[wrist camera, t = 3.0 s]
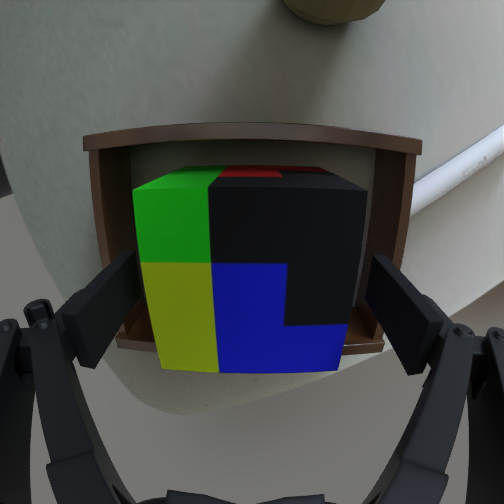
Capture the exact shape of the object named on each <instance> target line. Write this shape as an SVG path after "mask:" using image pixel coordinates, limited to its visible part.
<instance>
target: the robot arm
mask: <svg viewBox="0 0 504 504" xmlns="http://www.w3.org/2000/svg"><path fill="white" fill-rule="evenodd" d="M141 295H142V291H141V285H140V279H139V272H138V266H137V259H136V252H135V251H122V252H121V253H120V254H119V255H118V256H117V257H116V258H115V259H114V260H113V261H112V262H111V263H110V264H109V265H108V266H107V267H106V268H104V269H103V270H102V271H101V272H100V273H99V274H98V275H97V276H96V277H95V278H94V279H93V280H92V281H91V282H90V283H89V284H88V285H87V286H86V287H85V288H84V289H81V290H79V291H78V292H76V293H74V294H73V295H72V296H71V297H70V298H69V300H67V301H66V302H65V305H62V306H61V308H60V309H59V310H58V311H57V312H56V313H55V314H54V312H53V309H52V306H51V303H50V301H49V300H47V299H38V300H35V301H32V302H30V303H29V304H27V306H25V308H24V310H23V311H24V314H25V317H26V319H27V322H28V325H29V327H30V328H20V327H19V324H18V322H17V320H15V319H5V320H2V321H1V322H0V504H31V488H30V441H31V425H32V413H33V404H34V395H35V391H36V397H37V403H38V409H39V414H40V419H41V424H42V429H43V433H44V437H45V441H46V445H47V449H48V452H49V456H50V460H51V463H49V464H47V465H46V470H47V475H48V478H49V481H50V484H51V487H52V490H53V493H54V495H55V498H56V501H57V504H235V503H231V502H228V501H224V500H220V499H217V498H214V497H210V496H208V495H204V494H195V493H187V492H180V491H174V490H168V491H167V495H166V497H162V498H153V499H149V500H145V501H142V502H139V503H136V502H135V500H134V499H133V498H132V496H131V495H130V494H129V492H128V491H127V489H126V487H125V486H124V484H123V482H122V481H121V479H120V477H119V475H118V473H117V471H116V469H115V467H114V465H113V463H112V461H111V459H110V457H109V455H108V453H107V451H106V449H105V446H104V444H103V442H102V440H101V438H100V435H99V433H98V430H97V428H96V426H95V423H94V421H93V418H92V416H91V413H90V411H89V408H88V405H87V403H86V400H85V397H84V394H83V391H82V389H81V385H80V382H79V379H78V376H77V373H76V370H75V367H74V364H73V362H72V361H73V360H74V358H75V357H76V356H77V359H78V361H79V363H80V366H82V367H87V368H92V369H95V368H96V366H97V364H98V363H99V361H100V359H101V358H102V356H103V354H104V353H105V351H106V349H107V348H108V346H109V345H110V343H111V341H112V340H113V338H114V337H115V335H116V333H117V332H118V330H119V329H120V327H121V326H122V324H123V322H124V321H125V319H126V318H127V316H128V315H129V313H130V312H131V310H132V309H133V307H134V306H135V304H136V303H137V301H138V300H139V298H140V297H141ZM365 300H366V302H367V303H368V305H369V307H370V308H371V310H372V312H373V313H374V315H375V317H376V318H377V320H378V322H379V324H380V325H381V327H382V329H383V331H384V332H385V334H386V336H387V338H388V340H389V341H390V343H391V345H392V347H393V349H394V350H395V352H396V354H397V356H398V358H399V359H400V361H401V363H402V365H403V367H404V369H405V371H406V373H407V375H415V374H421V373H423V371H424V369H425V367H426V365H427V362H428V364H429V365H430V367H431V370H430V372H429V374H428V376H427V378H426V380H425V382H424V384H423V386H422V387H423V390H422V392H421V395H420V397H419V400H418V402H417V404H416V407H415V409H414V411H413V414H412V416H411V418H410V420H409V423H408V425H407V427H406V429H405V431H404V433H403V435H402V437H401V439H400V441H399V443H398V445H397V447H396V449H395V451H394V453H393V455H392V457H391V458H390V460H389V462H388V464H387V465H386V467H385V469H384V471H383V472H382V474H381V476H380V477H379V480H378V481H377V482H376V484H375V486H374V487H373V489H372V490H371V492H370V493H369V495H368V496H367V498H366V499H365V500H364V502H363V503H362V504H439V503H440V500H441V498H442V496H443V493H444V491H445V488H446V486H447V482H448V479H449V478H448V475H447V474H445V469H446V466H447V463H448V461H449V457H450V455H451V452H452V449H453V445H454V442H455V439H456V435H457V432H458V428H459V424H460V420H461V416H462V412H463V408H464V404H465V399H466V394H467V403H468V419H469V467H468V483H467V494H466V503H465V504H504V330H502V329H501V328H497V327H492V328H489V330H488V331H487V334H486V336H485V337H482V336H475V335H474V332H473V331H472V330H471V329H470V328H469V327H467V326H465V325H463V324H458V323H457V324H454V323H453V322H452V321H451V320H450V319H449V318H448V316H447V315H446V314H445V313H444V312H443V311H442V310H441V309H440V307H439V306H437V304H436V303H435V302H434V301H433V300H432V299H431V298H429V297H428V296H426V295H424V294H423V295H422V294H421V293H420V292H419V291H418V290H417V289H416V288H415V287H414V285H413V284H412V283H411V282H410V281H409V280H408V279H407V278H406V277H405V276H404V275H403V274H402V273H401V271H400V270H399V269H398V268H397V267H396V266H395V265H394V264H393V263H392V262H391V261H390V260H389V259H388V258H387V257H386V256H385V255H373V256H372V262H371V268H370V273H369V279H368V284H367V289H366V294H365ZM259 504H336V503H331V502H325V499H324V494H319V495H309V496H296V497H284V498H280V499H276V500H272V501H268V502H263V503H259Z"/></svg>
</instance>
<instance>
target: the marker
mask: <svg viewBox="0 0 504 504" xmlns="http://www.w3.org/2000/svg"><path fill="white" fill-rule="evenodd" d="M503 152H504V125H502V126H501V127H499V128H498V129H497V130H495V131H494V132H492V133H491V134H489V135H488V136H486V137H485V138H483V139H482V140H480V141H479V142H477V143H476V144H474V145H473V146H471V147H470V148H468V149H467V150H465V151H464V152H462V153H461V154H459V155H457V156H456V157H454V158H453V159H451V160H450V161H448V162H447V163H445V164H444V165H442V166H441V167H439V168H437V169H436V170H434V171H433V172H431V173H430V174H428V175H427V176H425V177H423V178H422V179H420V180H419V181H417V182H416V183H414V187H413V196H412V204H411V211H410V217H411V216H412V215H414V214H416V213H417V212H419V211H420V210H422V209H423V208H425V207H426V206H428V205H429V204H431V203H432V202H434V201H435V200H437V199H438V198H440V197H441V196H443V195H444V194H445V193H447V192H448V191H450V190H451V189H453V188H454V187H456V186H457V185H459V184H460V183H461V182H463V181H464V180H466V179H467V178H468V177H470V176H471V175H473V174H474V173H476V172H477V171H478V170H480V169H481V168H482V167H484V166H485V165H487V164H488V163H489V162H491V161H492V160H494V159H495V158H496V157H497V156H499V155H500V154H501V153H503Z"/></svg>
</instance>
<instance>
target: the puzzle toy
mask: <svg viewBox="0 0 504 504" xmlns="http://www.w3.org/2000/svg"><path fill="white" fill-rule="evenodd" d="M132 193H133V205H134V215H135V224H136V233H137V241H138V248H139V255H140V262H141V269H142V275H143V281H144V287H145V293H146V298H147V304H148V309H149V314H150V319H151V324H152V329H153V333H154V338H155V342H156V347H157V351H158V355H159V359H160V363H161V367H162V369H171V370H183V371H198V372H217V373H303V372H322V371H336V370H338V367H339V363H340V359H341V354H342V350H343V346H344V342H345V337H346V332H347V328H348V323H349V318H350V313H351V308H352V303H353V298H354V292H355V286H356V280H357V274H358V268H359V262H360V255H361V248H362V240H363V232H364V224H365V215H366V205H367V195H368V191H367V190H365V189H363V188H361V187H359V186H357V185H355V184H353V183H351V182H349V181H347V180H345V179H343V178H341V177H339V176H337V175H335V174H332V173H330V172H328V171H326V170H324V169H322V168H320V167H302V166H266V165H226V166H190V167H182V168H180V169H178V170H175V171H173V172H171V173H168V174H166V175H164V176H162V177H159V178H157V179H155V180H153V181H151V182H148V183H146V184H144V185H142V186H140V187H138V188H136V189H134V190H132Z"/></svg>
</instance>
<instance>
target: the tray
mask: <svg viewBox="0 0 504 504" xmlns="http://www.w3.org/2000/svg"><path fill="white" fill-rule="evenodd" d="M201 140H279V141H300V142H316V143H329V144H340V145H350V146H360V147H368V148H376V165H375V178H374V189H373V199H372V208H371V217H370V225H369V233H368V240H367V247H366V253H365V259H364V265H363V271H362V277H361V283H360V288H359V293H358V298H357V303H356V307H352V308H351V313H350V318H349V323H348V328H347V332H346V337H345V342H344V346H343V350H342V354H341V355H354V354H366V353H376V352H382V350H383V347H384V344H385V342H384V340H383V338H382V337H383V334H384V331H383V329H382V327H381V325H380V324H379V322H378V320H377V318H376V317H375V315H374V313H373V312H372V310H371V308H370V307H369V305H368V303H367V302H366V300H365V294H366V289H367V284H368V279H369V273H370V268H371V262H372V256H373V255H385V256H386V257H387V258H388V259H389V260H390V261H391V262H392V263H393V264H394V265H395V266H396V267H397V268H398V269H399V270H400V267H401V263H402V258H403V253H404V247H405V242H406V236H407V230H408V224H409V218H410V211H411V204H412V196H413V187H414V177H415V166H416V155H421V154H422V140H420V139H415V138H410V137H405V136H399V135H394V134H387V133H381V132H374V131H367V130H360V129H352V128H343V127H333V126H322V125H310V124H294V123H271V122H214V123H190V124H175V125H162V126H151V127H142V128H133V129H125V130H118V131H111V132H104V133H98V134H92V135H86V136H83V151H89V166H90V180H91V191H92V201H93V210H94V218H95V225H96V232H97V238H98V245H99V251H100V256H101V262H102V267H103V269H104V268H106V267H107V266H108V265H109V264H110V263H111V262H112V261H113V260H114V259H115V258H116V257H117V256H118V255H119V254H120V253H121V252H122V251H135V252H136V259H137V266H138V272H139V279H140V285H141V291H142V295H141V297H140V298H139V300H138V301H137V303H136V304H135V306H134V307H133V309H132V310H131V312H130V313H129V315H128V316H127V318H126V319H125V321H124V322H123V324H122V326H121V327H120V329H119V330H118V334H117V336H116V338H115V340H116V343H117V346H118V348H124V349H132V350H140V351H149V352H158V351H157V347H156V342H155V338H154V333H153V329H152V324H151V319H150V314H149V309H148V304H146V303H145V297H144V292H143V286H142V279H141V273H140V266H139V260H138V252H137V245H136V236H135V228H134V218H133V208H132V196H131V182H130V165H129V146H130V145H140V144H151V143H164V142H180V141H201Z"/></svg>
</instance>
